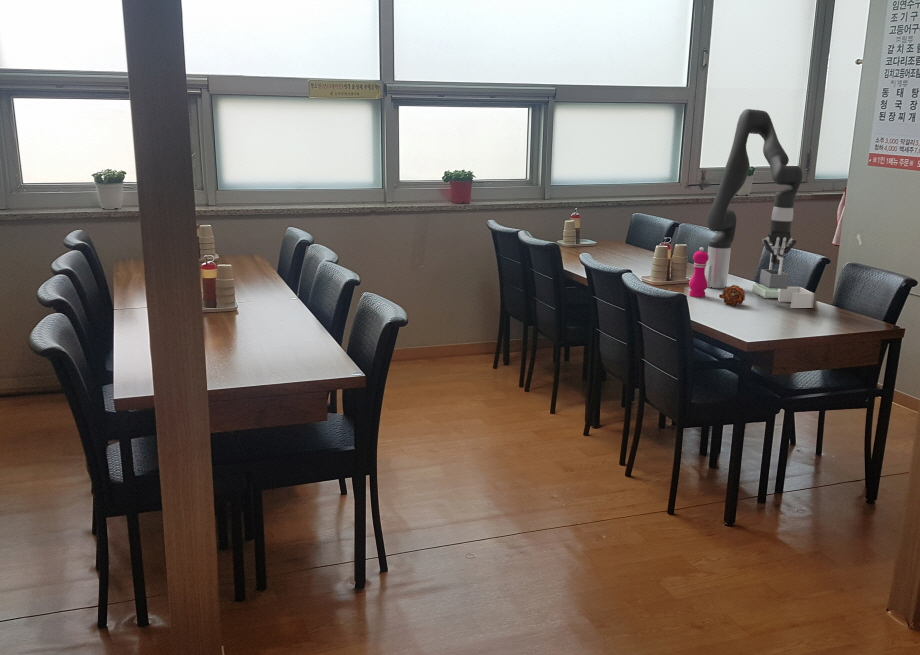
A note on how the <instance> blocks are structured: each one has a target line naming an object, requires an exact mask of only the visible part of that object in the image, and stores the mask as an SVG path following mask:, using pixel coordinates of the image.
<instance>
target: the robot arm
mask: <svg viewBox="0 0 920 655" xmlns="http://www.w3.org/2000/svg"><path fill="white" fill-rule="evenodd" d="M734 133H735V134H734V137H733V142H732V146H731V149H730V153H729V155H728V159H727V161H726V165H725V167H724V170H723V174H722V178H721V181H720V183H719V186H718V189H717V192H716V195H715V198H714V201H713V203H712V205H711V207H710V209H709V211H708V214H707V217H706V225H707V228H708V230H710V231H711V232H716V233H715V234H714V236H713V237H711V238H710V239H709V240H708V248H707V254H708V256H709V259H708V261H707V262H706V264H707V265H706V267H705V278H706V280H707V288H711V287H712V289H725V287H726V288H727V287H728V279H729V278H728V276H729V269H730V267H729V266H730V258H731V249H732V243H733V242H734V240H735V235H736V234H735V233H736V229H737V228H736V227H737V215H736V213H735V211H734V210H732V209H731V208H729V205H730V203H731V201H732V200H733V198H734V197H735V196H736V195H737V194H738V192H739V191H740V190H741V189H742V187H743V186H744V185H745V182H746V180H747V177H748V173H749V171H750V165H751V164H750V159H749V156H748V152H747V142H748V138H749V135H750V134H751V135H752V134H753V135H759V136H761V138H762V139H763V142H764V143H763V148H762V152H763V156H764V157H765V160H766V162H767V163H768V165H769V166H770V172H771V178H772V181H773V182H774V183H775V184H777V185H780V186H785V188H784V189H783V190H779V191H776V193H775V194H774V201H773V208H772V212H771V219H770V224H769V233H768V234H767V236H766V237H765V238H762V239H761V243H762V244H763V246H764V248H765V250H766V252H767V253H770V255H771V254H772V257H771V256H770V258H771V262H772V265H779V264H780V260H779V259H777V255H778V256H781V257H783V255H784V254H788V253H789V252H790V251H791V249H792V248H793V247H794V246H795V245H796V243H797V240H796V239H793V238H792V234H791V232H792V226H793V219H794V205H795V198H796V195H797V193H798V190H799V188H800V186H801V184H802V180H803V177H804V175H803V174H804V173H803V170H802V168H801V167H800V166H798V165H789V162H790V159H789V156H788V154H787V152H785V149H784V148H783V146H782V145H781V143H780V141H779V139H778V136H777V133H776V130H775V127H774V124H773V121H772V119H771V116H770V114H769V113H768V112H767V111H766V110H765V111H764V110H760V109H751V108H746V109H744V110H742V112H741V114H740V115H739V117H738V121H737V123H736V127H735V132H734ZM770 244H771V246H770Z"/></svg>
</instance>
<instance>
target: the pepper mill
mask: <svg viewBox="0 0 920 655" xmlns="http://www.w3.org/2000/svg"><path fill="white" fill-rule="evenodd" d="M704 250H705V248H704V247H702V246H701V247H699V249H698V251H695V252H694V254H693V257H692V259H693V261H694V262H693V267H694V271H693V275H692V276H691V278H690V280H689V283H688V287H689V289H690V290H689V292H688V293H689V296H690V297H693V298H705V297H706V291H705V290H707V288H708V287H707V280H706V278H705V267H706V265H707V264H706V263H707V261H708V259H709V256H708V252H706V251H704Z"/></svg>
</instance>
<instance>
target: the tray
mask: <svg viewBox="0 0 920 655" xmlns="http://www.w3.org/2000/svg"><path fill="white" fill-rule="evenodd" d="M752 291H753V293H754V294H756V295H757V294H758V296H759V295H760V296H759V297H761V298H762V299H764V298H778V299H779V291H780V289H769V288H767V287H765V286H764V285H762V284H752V289H751V292H752ZM778 299H777V300H778Z"/></svg>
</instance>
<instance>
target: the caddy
mask: <svg viewBox="0 0 920 655" xmlns="http://www.w3.org/2000/svg"><path fill="white" fill-rule="evenodd" d="M776 255H777V254H776ZM771 257H772V254H771V253H770V257H769V258H770V259H769V267H768V269H763V268H762V269H760V276H759V285H764V286H765V287H767V288H769V289H787V287H789V286H788V284H789V278H790V274H788V273H786V272H784V271H782V270H783V263H784V259H785V258H784V257H783V256H782V257H781V256H778V255H777V259H779V260H780V264H778V265H779V266H778V269H773V264H772V262H771Z"/></svg>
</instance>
